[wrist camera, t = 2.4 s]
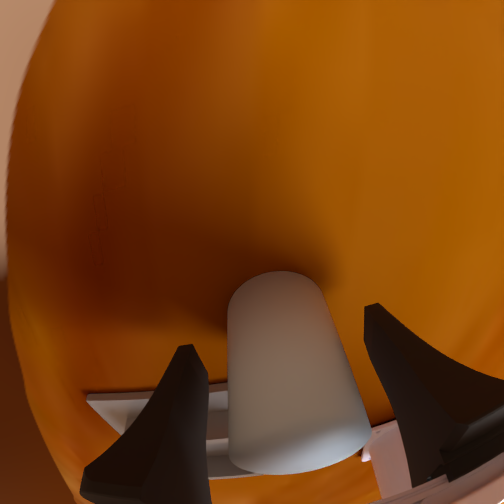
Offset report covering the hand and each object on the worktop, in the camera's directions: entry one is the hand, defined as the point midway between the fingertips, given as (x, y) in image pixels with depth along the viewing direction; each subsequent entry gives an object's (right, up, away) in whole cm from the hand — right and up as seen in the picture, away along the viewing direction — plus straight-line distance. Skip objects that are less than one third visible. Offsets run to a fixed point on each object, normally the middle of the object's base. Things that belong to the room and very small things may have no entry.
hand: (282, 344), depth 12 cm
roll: (0, +1, +2) cm, 2 cm away
